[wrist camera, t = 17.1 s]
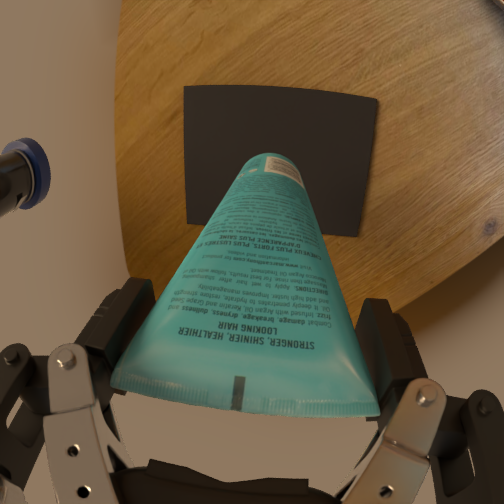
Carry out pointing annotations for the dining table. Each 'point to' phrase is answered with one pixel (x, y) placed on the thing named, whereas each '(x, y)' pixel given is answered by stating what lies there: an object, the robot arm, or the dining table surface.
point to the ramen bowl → (499, 3)
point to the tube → (254, 313)
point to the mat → (279, 146)
